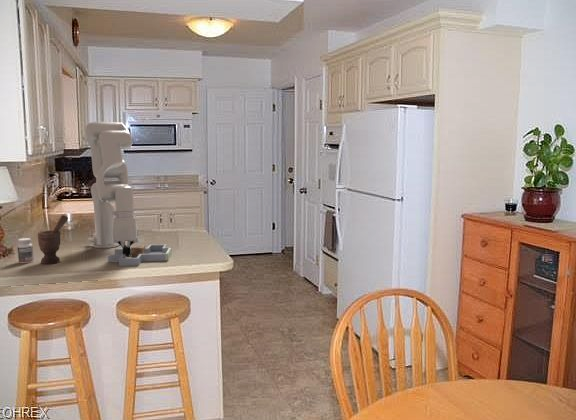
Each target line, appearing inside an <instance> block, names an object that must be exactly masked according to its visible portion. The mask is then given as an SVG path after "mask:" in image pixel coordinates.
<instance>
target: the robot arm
mask: <svg viewBox="0 0 576 420" xmlns="http://www.w3.org/2000/svg"><path fill="white" fill-rule="evenodd" d="M85 138H86V141H87V144H88V146H89V148H90V154H91V165H92V168H91V169H92V172H93V173H92V174H93V176H94V177H95V182H94V183H93V184H92V185H91V187H90V193H91V198H92V203H93V204H92V205H93V211H94V227H95V228H94V232H95V237H87V238H86V243H92V247H93V248H95V249H109V248H116V247H119V246H120V247H121V249H123V254H125V257H129V256H130V255H129V254H130V253H131V252H130V248H131V247H132V245H133V244H136V243H139V242H140V239H139V230H138V229H139V228H138V222H137V218H136V217H135V211H134V207H135V206H134V189H133V187H132V186H130V185H129V183H130V182H129V172H128V166H127V162H126V161H125V160H124V159H123V154H122V150H126V149H127V150H129V149H130V148H132V145H133V137H132V134H131V132H130V131H129V129H128V128H127V126H126V125H125V124H124V123H123V122H121V121H119V122H118V121H91V122H88V123H87V124H86V125H85ZM104 179H116V180H111V181H110V180H104ZM110 202H111V203H114V204H115V205H114V206H115V207H114V206H113V204H111V203H110ZM126 242H127V243H126Z"/></svg>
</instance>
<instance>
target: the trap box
mask: <svg viewBox="0 0 576 420" xmlns="http://www.w3.org/2000/svg"><path fill="white" fill-rule="evenodd" d="M131 248H132V247H130V252H131ZM172 253H173V251H172V247H170V246H169V247H168V244H148V245H147V247H145V254H139V255H138V257H137V258H131V257H126V256H125V254H123V248H114V254H108V255H107V261H108V263H118V267H129V266H134V267H135V266H140V265H141V264H142V262H164V261H165V262H168V261H169V260H170V257H171V256H172ZM129 256H131V253H130V254H129Z"/></svg>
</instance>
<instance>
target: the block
mask: <svg viewBox="0 0 576 420" xmlns="http://www.w3.org/2000/svg"><path fill="white" fill-rule="evenodd" d="M130 248H131V255H130V258H137V257H138V255H139V254H145V248H146V246H145V245H133V246H131V247H130Z"/></svg>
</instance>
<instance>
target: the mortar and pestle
mask: <svg viewBox="0 0 576 420" xmlns="http://www.w3.org/2000/svg"><path fill="white" fill-rule="evenodd" d="M68 219H69V217H68V216H67V215H64V214H63V215H61V216H60V218H59V219H58V221H57V223H56V226H55V227H54V228H53V229H52V230H51V229H50V230H42V231H38V232H37V241H38V243H37V244H38V247H39V249H40V251H41V252H42V253H43V257H42V258H41V260H40V264H42V265H43V264H44V265H50V264H56V263H59V262H61V260H60V257H59V256H58V255H57V252H58V251H59V249H60V245H61V231H60V230H61V229H62V228H63V226H64V225H65V224H66V223H67V221H68Z"/></svg>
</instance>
